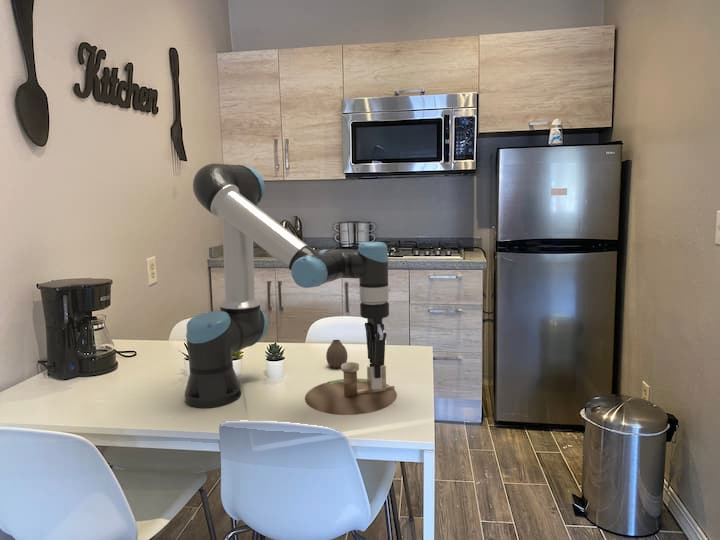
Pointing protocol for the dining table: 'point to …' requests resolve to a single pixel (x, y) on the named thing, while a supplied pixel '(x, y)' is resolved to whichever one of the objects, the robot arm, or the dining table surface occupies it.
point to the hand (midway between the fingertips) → (376, 388)
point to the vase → (336, 354)
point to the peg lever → (351, 380)
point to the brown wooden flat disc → (348, 398)
